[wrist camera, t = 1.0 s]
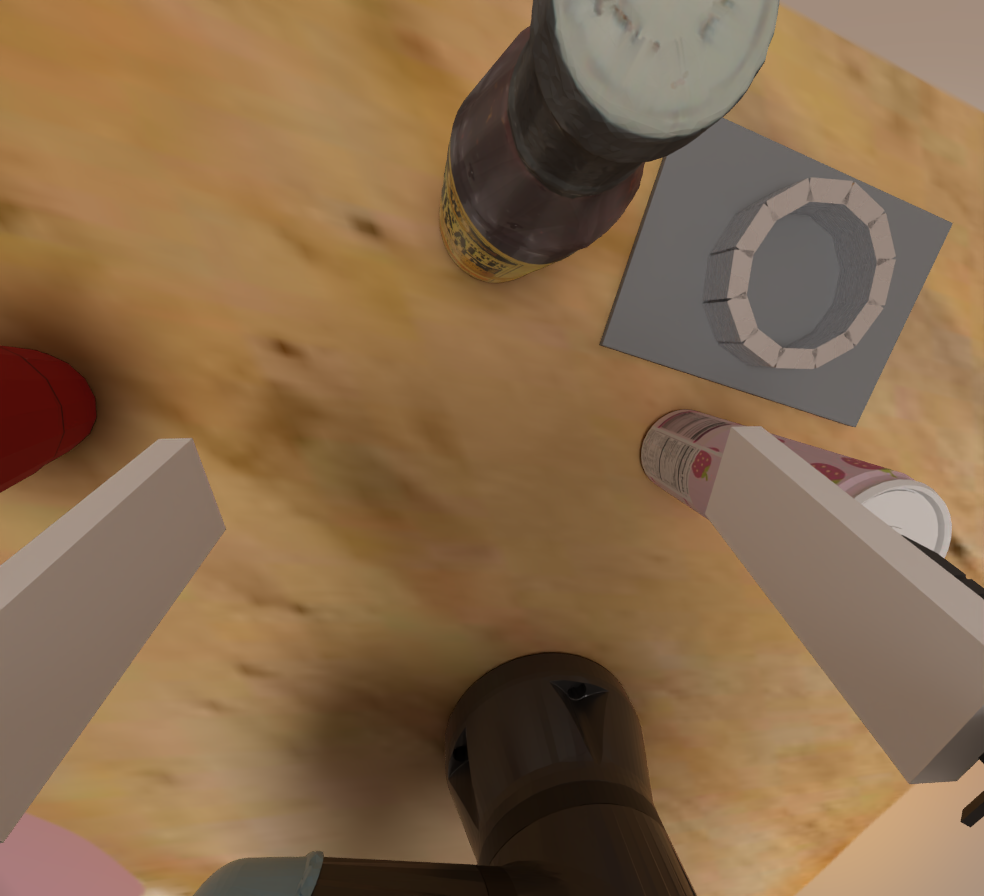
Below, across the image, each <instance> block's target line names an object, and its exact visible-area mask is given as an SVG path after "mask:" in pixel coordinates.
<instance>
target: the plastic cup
mask: <svg viewBox="0 0 984 896" xmlns="http://www.w3.org/2000/svg"><path fill="white" fill-rule="evenodd" d="M96 417H97V416H96V403H95V397H94V395H93V393H92V391H91V389H90V387H89V385H88V383H87V382H86V380H85V378H83V377H82V376H81V375H80V374H79V373H78V372H77V371H76V370H75V369H74V368H73V367H72V366H70V365H69V364H68V363H66V362H64V361H62V360H60V359H57V358H55V357H53V356H51V355H49V354H47V353H42V352H39V351H37V350H31V349H23V348H16V347H8V346H0V493H1V492H2V491H4V490H6V489H8V488H9V487H11V486H13V485H15V484H16V483H18V482H20V481H22V480H23V479H25V478H27V477H29V476H30V475H32V474H34V473H36V472H37V471H38V470H39V469H41V468H42V467H43V466H44V465H46V464H47V463H49V462H51V461H53V460H54V459H56V458H58V457H60V456H62V455H63V454H65V453H67V452H69V451H70V450H71V449H72V448H74V447H75V446H76V445H77V444H78V443H80V442H81V441H82V440H83V439H84V438H85V437H86V436H87V435H88V434H90V432H91V429H92V427H93V424H94V422H95V420H96Z"/></svg>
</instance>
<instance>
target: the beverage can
mask: <svg viewBox="0 0 984 896" xmlns="http://www.w3.org/2000/svg"><path fill="white" fill-rule="evenodd" d="M731 427H744V425H741V424H737V423H734V422H731V421H727V420H724V419H721V418H717V417H714V416H711V415H707V414H704V413H701V412H697V411H694V410H678V411H674V412H671V413H669V414H667V415H665V416H663V417H662V418H660V419H659V420H658V421H657V422H656V423H655V424H654V425H653V426H652V427H651V429H650V430H649V431H648V433H647V435H646V437H645V439H644V442H643V446H642V451H641V460H642V466H643V468H644V471H645V473H646V475H647V476H648V477H649V479H650V480H651V481H652V482H654V483H655V484H656V485H658V486H659V487H661V488H662V489H664V490H665V491H667V492H668V493H670V494H671V495H673V496H674V497H675V498H677V499H678V500H680V501H681V502H683V503H684V504H686V505H687V506H689V507H690V508H692V509H693V510H695V511H696V512H698V513H699V514H701V515H702V516H704V517H705V518H707V516H706V515H705V512H706V509H707V505H708V502H709V499H710V495H711V492H712V489H713V486H714V482H715V479H716V476H717V472H718V469H719V466H720V462H721V459H722V456H723V452H724V449H725V446H726V442H727V439H728V436H729V433H730V429H731ZM770 434H771V433H770ZM771 435H773V436H774V437H775V438H777V439H778V440H779V441H780V442H782V443H783V444H784V445H786V446H787V447H788V448H789V449H791V450H792V451H793V452H795V453H796V454H797V455H798V456H800V457H801V458H802V459H804V460H805V461H806V462H807V463H809V464H810V465H811V466H813V467H814V468H815V469H816V470H818V471H819V472H820V473H822V474H823V475H824V476H826V477H827V478H828V479H829V480H831V481H832V482H833V483H835V484H836V485H837V486H838V487H840V488H841V489H842V490H844V491H845V492H846V493H847V494H849V495H850V496H851V497H853V498H854V499H855V500H856V501H858V502H859V503H860V504H862V505H863V506H864V507H865V508H867V509H868V510H869V511H871V512H872V513H873V514H874V515H876V516H877V517H878V518H880V519H881V520H882V521H883V522H885V523H886V524H887V525H889V526H890V527H891V528H892V529H894V530H895V531H896V532H898V533H899V534H900V535H904V536H906V537H907V538H909V539H911V540H913V541H915V542H917V543H919V544H921V545H923V546H925V547H927V548H928V549H930V550H932V551H934V552H936V553H938V554H939V555H940V556H942V557H943V558H945V556H946V553H947V551H948V548H949V544H950V540H951V532H952V523H951V517H950V513H949V511H948V508H947V506H946V504H945V502H944V501H943V500H942V499H941V497H940V496H939V495H938V494H937V493H936V492H935V491H934V489H932V488H930V487H929V486H927V485H926V484H924V483H921V482H918V481H915V480H914V479H912V478H911V477H909V476H907V475H906V474H904V473H900V472H897V471H894V470H890V469H887V468H884V467H880V466H877V465H874V464H870V463H867V462H864V461H860V460H857V459H854V458H850V457H847V456H844V455H840V454H837V453H834V452H830V451H827V450H824V449H820V448H817V447H814V446H811V445H807V444H804V443H801V442H797V441H794V440H791V439H787V438H784V437H781V436H777V435H774V434H771ZM707 519H708V518H707ZM708 520H709V519H708Z"/></svg>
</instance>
